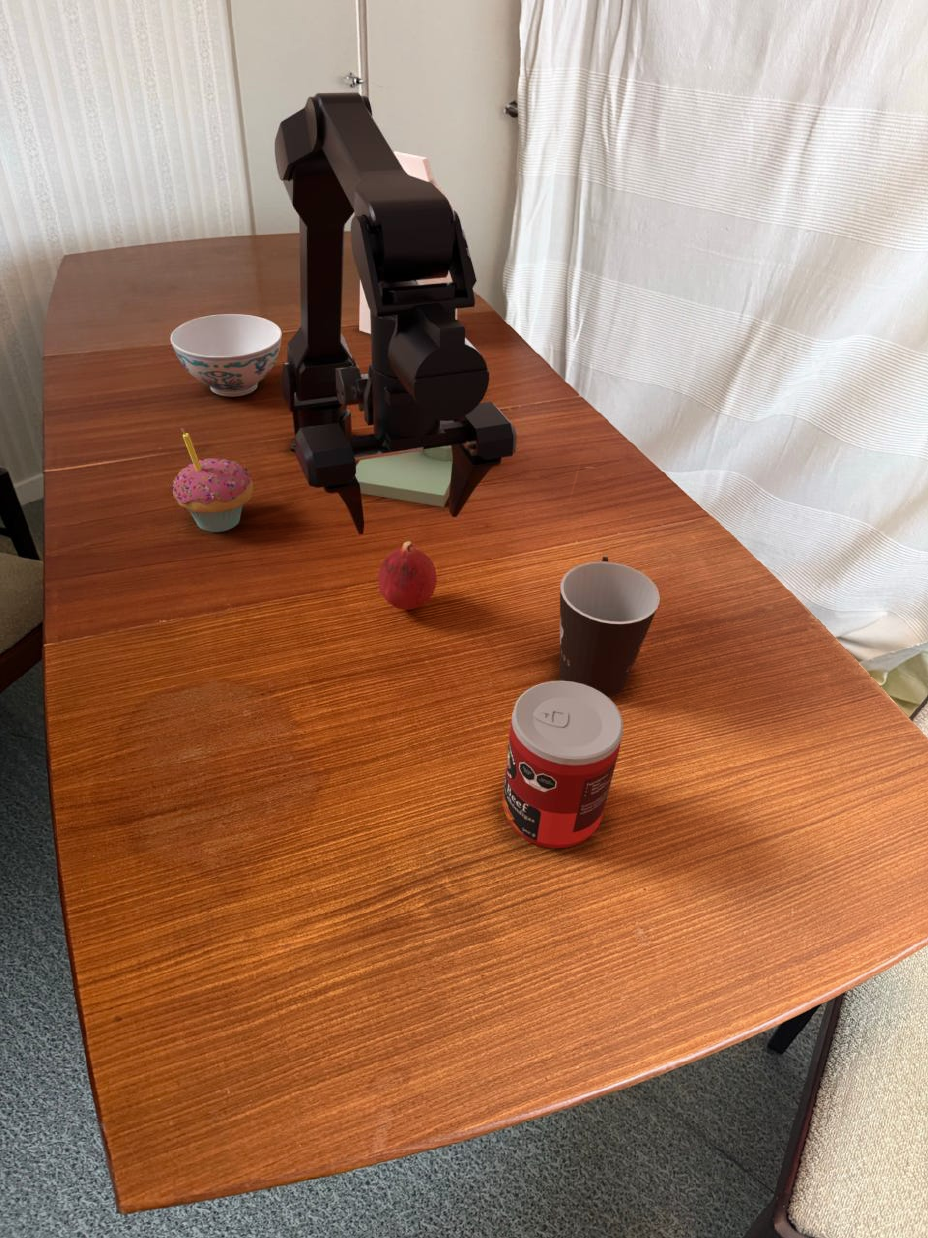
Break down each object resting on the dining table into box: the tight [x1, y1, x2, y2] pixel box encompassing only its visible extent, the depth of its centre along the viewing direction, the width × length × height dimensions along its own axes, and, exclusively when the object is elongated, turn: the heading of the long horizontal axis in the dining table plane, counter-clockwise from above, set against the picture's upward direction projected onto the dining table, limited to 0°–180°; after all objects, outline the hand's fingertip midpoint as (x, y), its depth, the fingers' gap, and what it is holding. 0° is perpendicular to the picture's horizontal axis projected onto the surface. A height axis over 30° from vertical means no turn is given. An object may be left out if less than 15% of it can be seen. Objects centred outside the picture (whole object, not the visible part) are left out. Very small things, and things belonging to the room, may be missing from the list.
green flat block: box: [355, 445, 453, 508], centre depth 104 cm, size 13×14×4 cm
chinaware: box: [170, 313, 283, 397], centre depth 118 cm, size 15×15×8 cm
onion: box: [377, 540, 438, 611], centre depth 82 cm, size 6×6×8 cm
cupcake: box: [171, 427, 255, 533], centre depth 91 cm, size 9×8×12 cm
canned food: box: [502, 680, 624, 849], centre depth 63 cm, size 8×8×11 cm
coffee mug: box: [559, 556, 661, 698], centre depth 76 cm, size 12×9×10 cm
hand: (407, 523), depth 78 cm, fingers open, 9 cm apart
